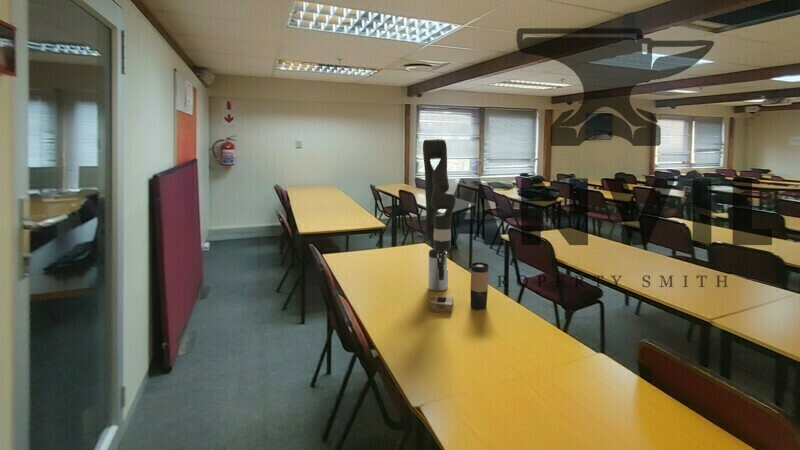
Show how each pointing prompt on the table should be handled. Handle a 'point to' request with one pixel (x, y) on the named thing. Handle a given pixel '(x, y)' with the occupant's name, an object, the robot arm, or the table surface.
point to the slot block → (441, 304)
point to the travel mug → (479, 285)
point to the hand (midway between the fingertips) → (441, 275)
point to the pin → (444, 274)
